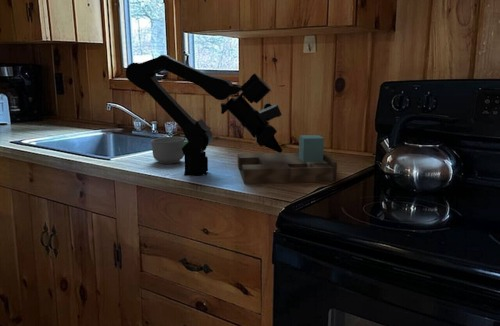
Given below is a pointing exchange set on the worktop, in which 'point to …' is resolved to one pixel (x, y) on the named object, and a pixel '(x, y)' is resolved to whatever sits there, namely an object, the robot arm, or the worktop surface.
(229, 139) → the worktop surface
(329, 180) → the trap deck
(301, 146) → the teal block
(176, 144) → the teacup
